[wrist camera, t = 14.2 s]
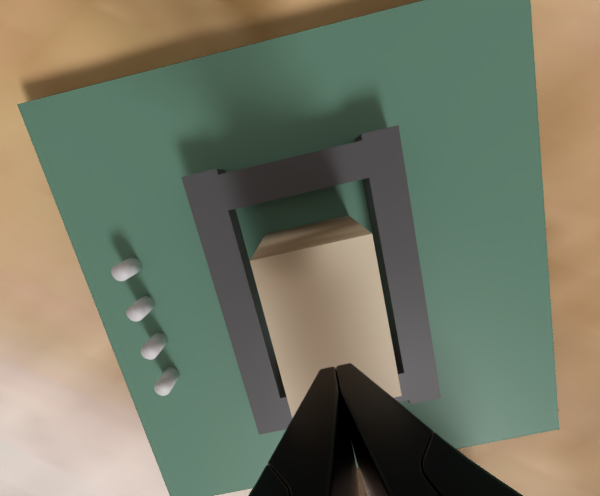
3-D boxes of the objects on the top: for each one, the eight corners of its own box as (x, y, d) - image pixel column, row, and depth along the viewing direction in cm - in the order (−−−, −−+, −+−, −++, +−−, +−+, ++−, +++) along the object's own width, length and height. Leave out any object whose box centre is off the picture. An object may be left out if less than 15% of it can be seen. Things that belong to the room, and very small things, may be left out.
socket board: (512, -13, 14) (557, -52, 12) (545, 415, 19) (582, 451, 16) (35, 109, 15) (-16, 96, 13) (179, 487, 20) (162, 531, 17)
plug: (348, 215, 15) (372, 233, 10) (374, 344, 17) (405, 414, 12) (265, 234, 15) (249, 261, 10) (297, 360, 17) (296, 436, 12)
